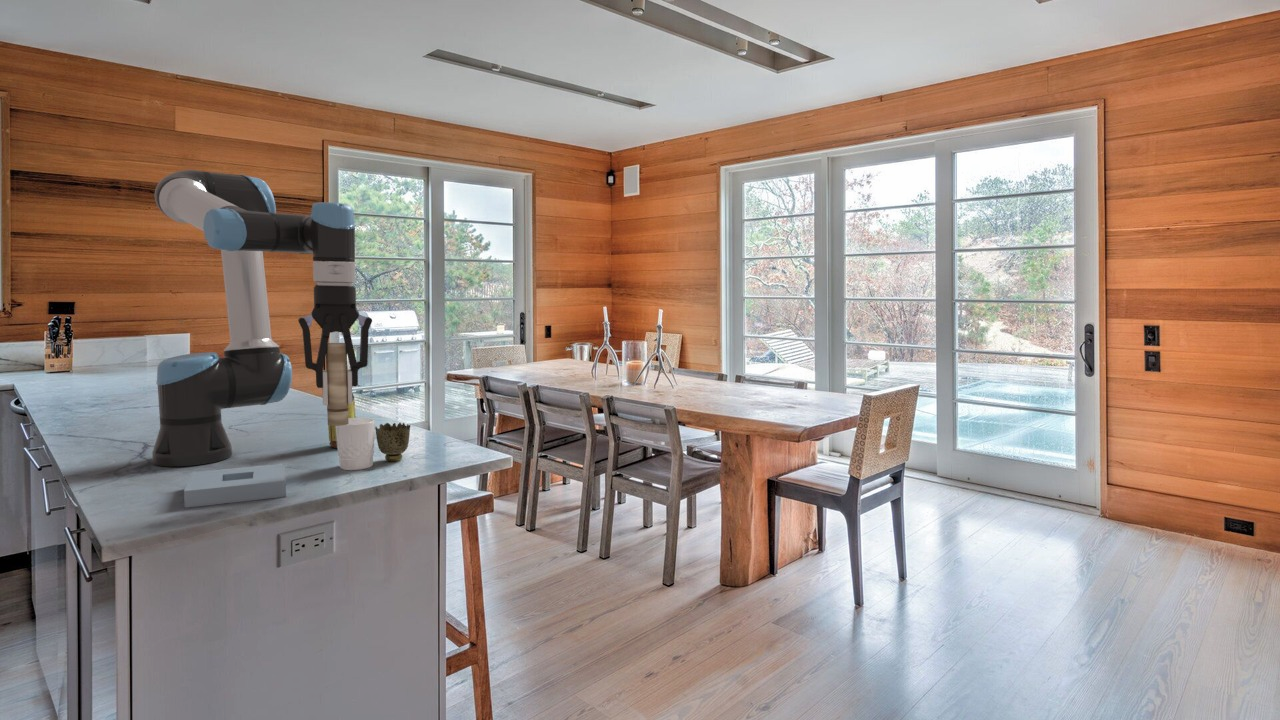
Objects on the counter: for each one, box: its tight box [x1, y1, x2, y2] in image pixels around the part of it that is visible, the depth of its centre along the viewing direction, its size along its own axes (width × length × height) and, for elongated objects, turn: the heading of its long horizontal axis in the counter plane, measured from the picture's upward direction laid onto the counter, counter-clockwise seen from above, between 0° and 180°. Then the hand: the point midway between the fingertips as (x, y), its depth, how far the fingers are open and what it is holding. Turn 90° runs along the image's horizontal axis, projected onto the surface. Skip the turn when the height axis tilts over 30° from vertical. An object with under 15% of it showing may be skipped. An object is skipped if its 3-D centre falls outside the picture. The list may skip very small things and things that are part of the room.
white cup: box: [336, 417, 376, 471], centre depth 156 cm, size 8×8×10 cm
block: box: [183, 463, 287, 509], centre depth 136 cm, size 14×16×3 cm
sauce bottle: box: [327, 365, 356, 449], centre depth 174 cm, size 6×6×20 cm
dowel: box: [325, 342, 349, 426], centre depth 142 cm, size 4×4×16 cm
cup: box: [374, 422, 411, 463], centre depth 161 cm, size 8×7×8 cm
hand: (337, 403), depth 142 cm, fingers closed on dowel, 4 cm apart
